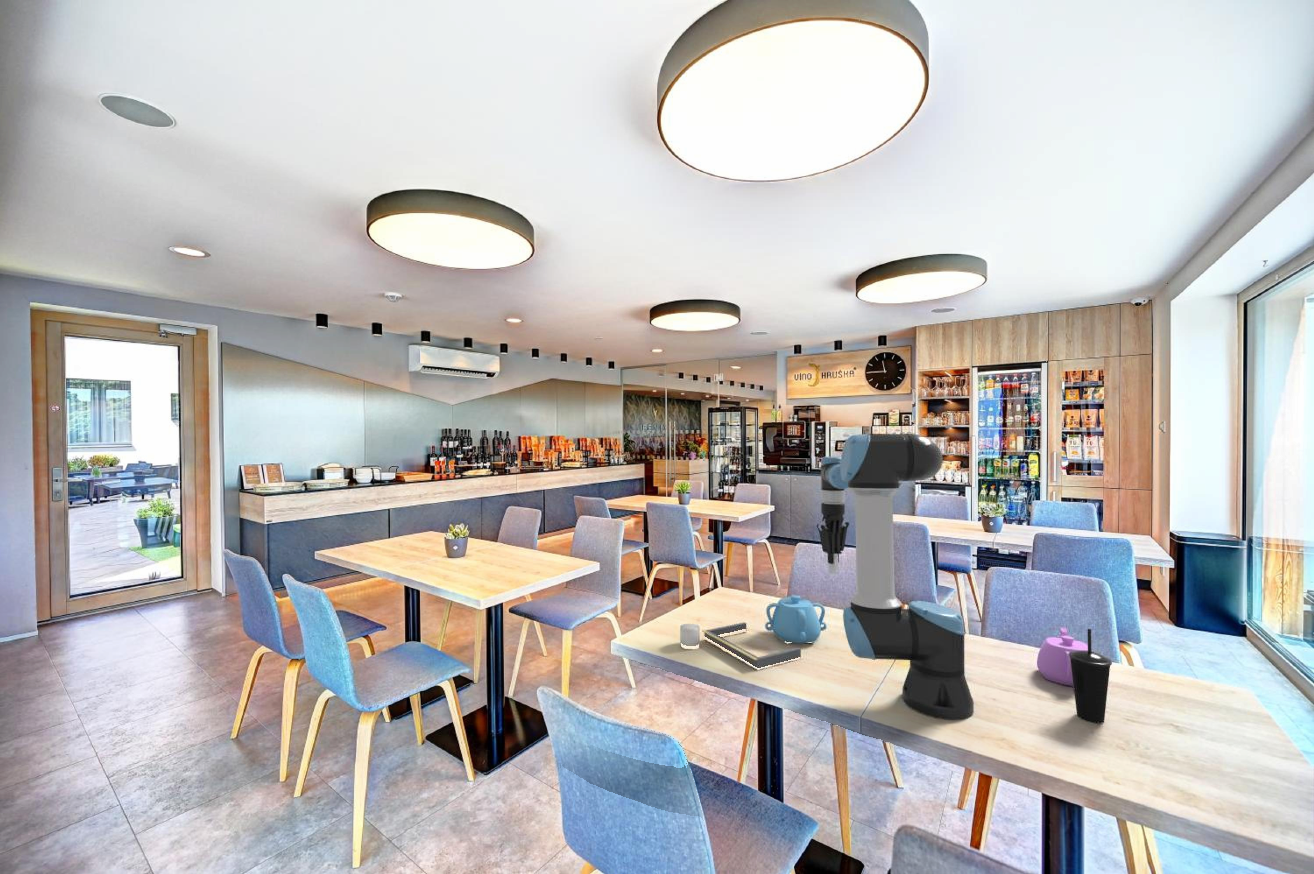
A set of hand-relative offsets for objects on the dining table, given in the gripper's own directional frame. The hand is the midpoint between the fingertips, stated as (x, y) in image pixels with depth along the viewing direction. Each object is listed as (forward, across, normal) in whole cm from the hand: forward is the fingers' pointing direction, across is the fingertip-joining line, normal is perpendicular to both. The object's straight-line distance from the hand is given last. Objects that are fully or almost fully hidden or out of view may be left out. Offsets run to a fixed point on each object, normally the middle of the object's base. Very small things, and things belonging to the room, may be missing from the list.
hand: (833, 572), depth 181 cm
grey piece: (+19, +35, 0) cm, 40 cm away
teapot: (+19, -25, +57) cm, 65 cm away
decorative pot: (+19, +17, 0) cm, 26 cm away
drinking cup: (+19, -6, +70) cm, 73 cm away
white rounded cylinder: (+19, +50, -11) cm, 55 cm away
